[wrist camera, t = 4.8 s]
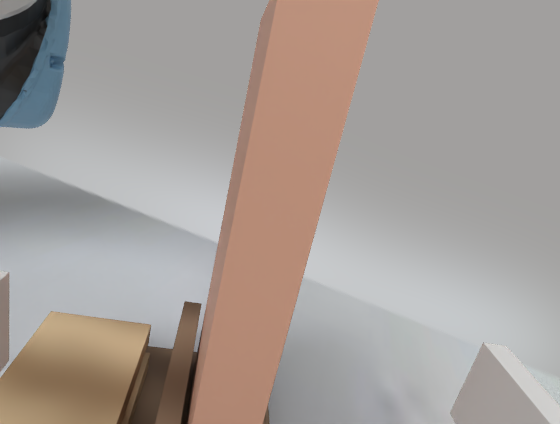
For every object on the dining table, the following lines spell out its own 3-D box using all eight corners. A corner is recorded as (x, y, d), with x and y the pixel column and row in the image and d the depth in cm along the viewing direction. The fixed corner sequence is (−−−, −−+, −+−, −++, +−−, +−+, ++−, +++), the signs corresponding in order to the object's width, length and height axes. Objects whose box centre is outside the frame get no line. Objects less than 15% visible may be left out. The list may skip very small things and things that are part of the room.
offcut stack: (47, 357, 24) (49, 304, 22) (147, 369, 24) (155, 318, 23) (-82, 554, 14) (-89, 481, 13) (87, 562, 15) (94, 494, 14)
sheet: (195, 363, 26) (260, 19, 19) (227, 367, 26) (302, 30, 19) (157, 599, 15) (283, -31, 8) (213, 601, 15) (380, -4, 8)
